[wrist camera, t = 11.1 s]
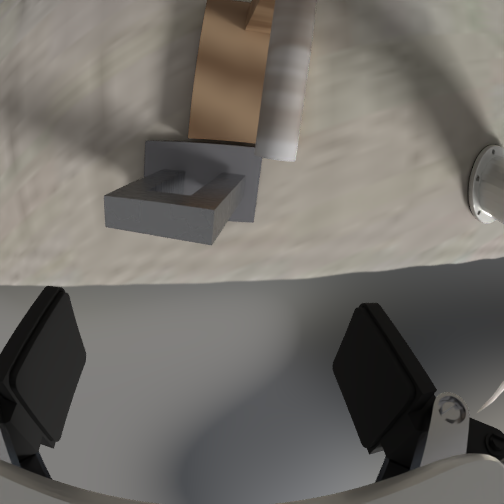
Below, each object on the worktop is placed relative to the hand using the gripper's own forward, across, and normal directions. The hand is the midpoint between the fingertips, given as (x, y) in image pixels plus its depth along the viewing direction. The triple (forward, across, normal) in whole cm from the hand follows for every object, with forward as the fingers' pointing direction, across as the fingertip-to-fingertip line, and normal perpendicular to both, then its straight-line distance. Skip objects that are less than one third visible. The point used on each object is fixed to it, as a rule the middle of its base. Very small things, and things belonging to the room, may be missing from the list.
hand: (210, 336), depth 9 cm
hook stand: (+21, -2, -11) cm, 24 cm away
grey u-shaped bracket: (+21, +1, 0) cm, 21 cm away
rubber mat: (+21, +1, 0) cm, 21 cm away
